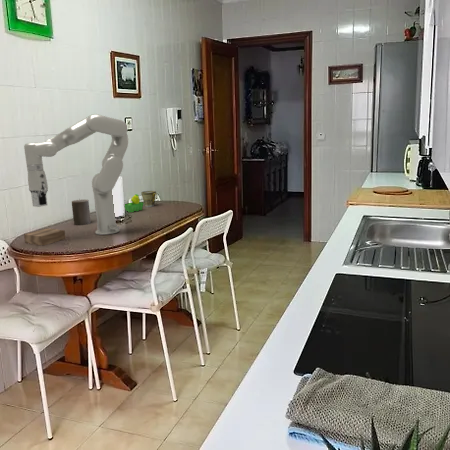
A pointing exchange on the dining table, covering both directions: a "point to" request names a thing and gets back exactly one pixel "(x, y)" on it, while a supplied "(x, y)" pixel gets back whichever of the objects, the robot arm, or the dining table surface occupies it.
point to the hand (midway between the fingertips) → (40, 203)
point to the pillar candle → (81, 212)
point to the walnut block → (44, 236)
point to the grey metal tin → (36, 199)
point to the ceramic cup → (149, 198)
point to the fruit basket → (134, 204)
